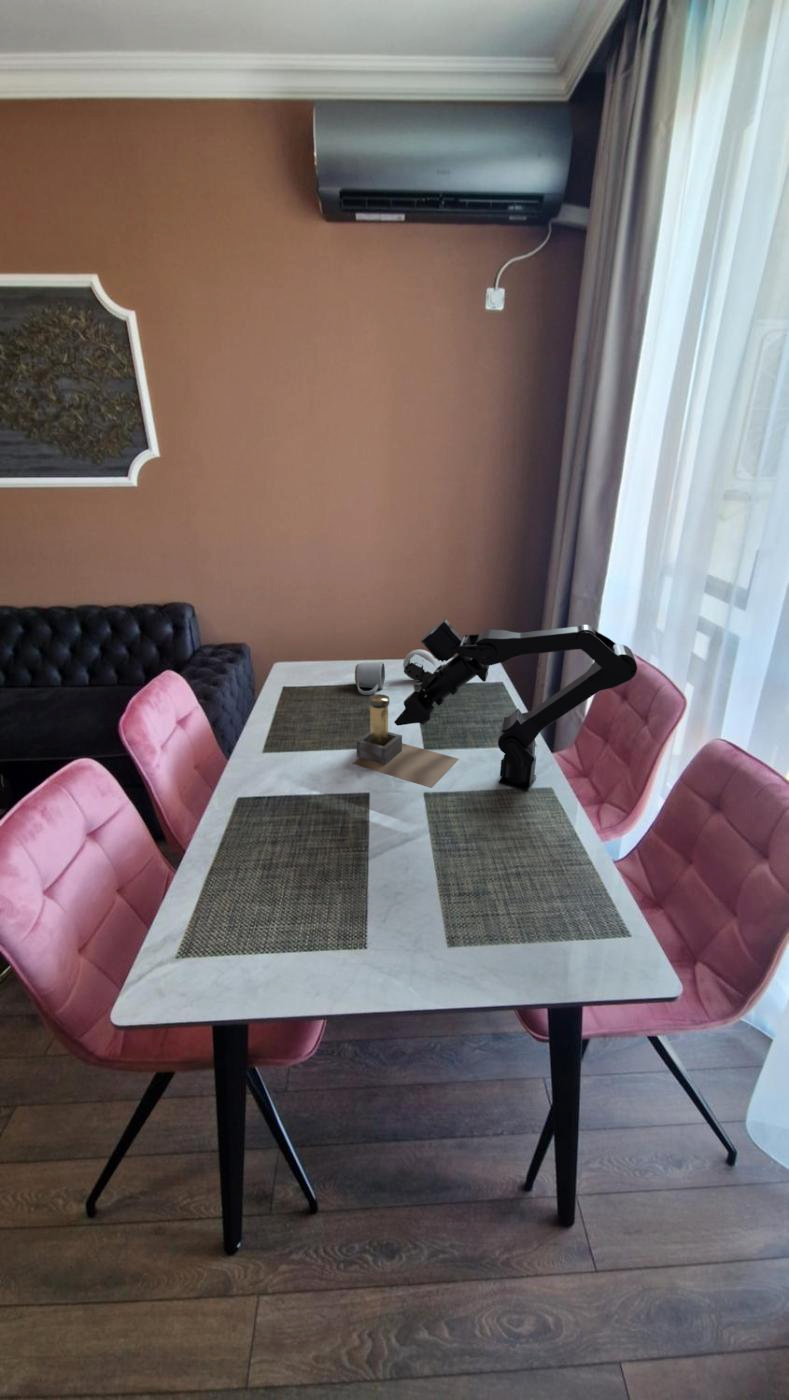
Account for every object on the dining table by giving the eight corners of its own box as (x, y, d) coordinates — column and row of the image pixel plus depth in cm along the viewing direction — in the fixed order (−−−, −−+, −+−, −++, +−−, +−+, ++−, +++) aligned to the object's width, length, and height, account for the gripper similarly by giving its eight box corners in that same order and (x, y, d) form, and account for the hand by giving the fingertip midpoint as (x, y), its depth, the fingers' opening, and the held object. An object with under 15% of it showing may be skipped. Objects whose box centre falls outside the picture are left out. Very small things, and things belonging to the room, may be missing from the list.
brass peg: (393, 751, 141) (393, 696, 135) (383, 760, 137) (382, 704, 132) (376, 747, 143) (375, 692, 137) (365, 755, 140) (364, 700, 134)
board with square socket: (458, 764, 139) (460, 743, 137) (431, 793, 128) (432, 771, 125) (380, 742, 148) (380, 722, 146) (349, 768, 137) (348, 747, 135)
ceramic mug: (358, 681, 184) (358, 657, 181) (385, 682, 183) (385, 658, 180) (352, 695, 175) (351, 671, 171) (380, 697, 174) (380, 672, 170)
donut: (435, 679, 186) (437, 648, 182) (435, 683, 182) (436, 652, 178) (403, 678, 186) (403, 647, 182) (402, 682, 183) (402, 651, 179)
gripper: (440, 633, 134) (392, 673, 142) (414, 661, 118) (362, 704, 125) (473, 671, 135) (424, 708, 142) (451, 704, 118) (398, 744, 126)
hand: (402, 715), depth 134 cm, fingers open, 9 cm apart
